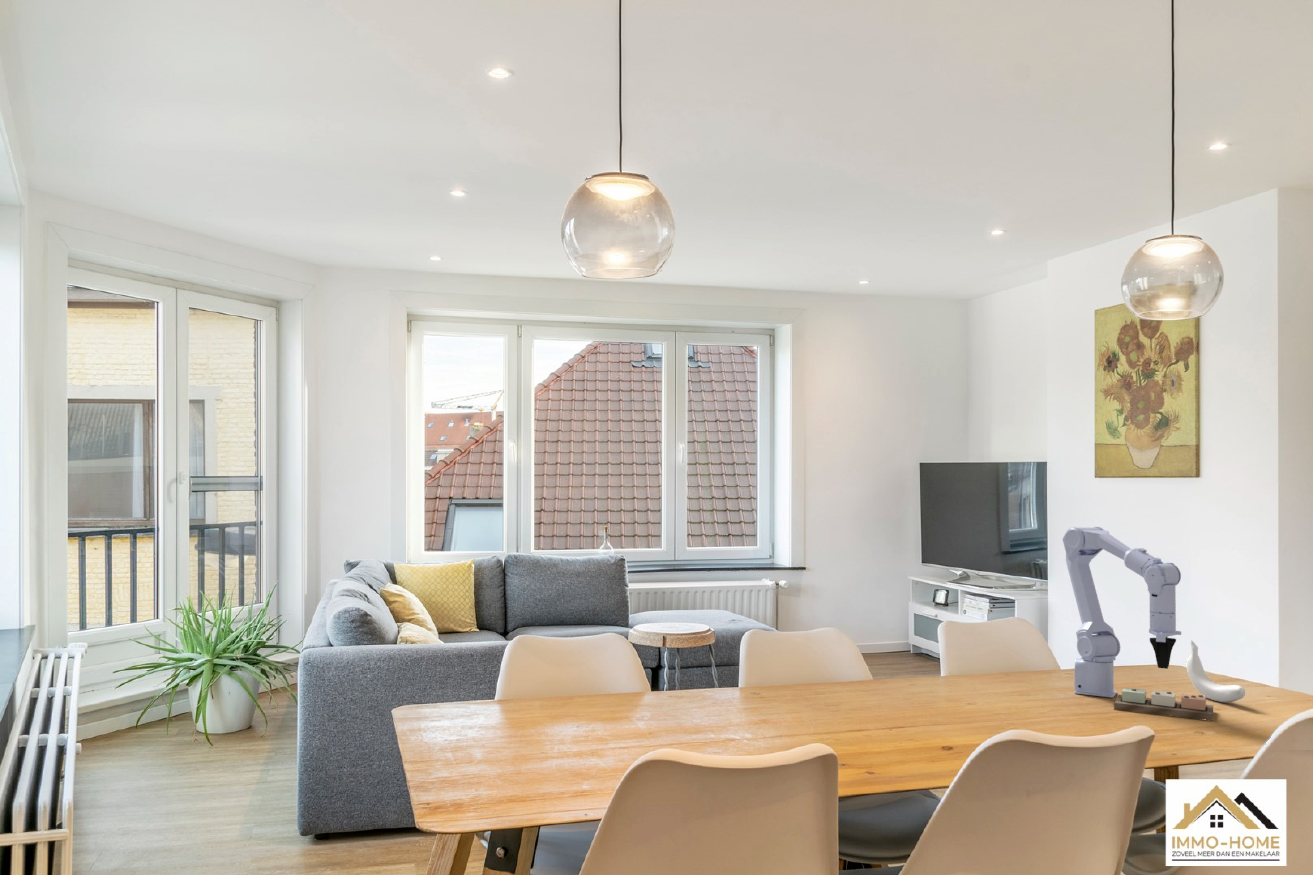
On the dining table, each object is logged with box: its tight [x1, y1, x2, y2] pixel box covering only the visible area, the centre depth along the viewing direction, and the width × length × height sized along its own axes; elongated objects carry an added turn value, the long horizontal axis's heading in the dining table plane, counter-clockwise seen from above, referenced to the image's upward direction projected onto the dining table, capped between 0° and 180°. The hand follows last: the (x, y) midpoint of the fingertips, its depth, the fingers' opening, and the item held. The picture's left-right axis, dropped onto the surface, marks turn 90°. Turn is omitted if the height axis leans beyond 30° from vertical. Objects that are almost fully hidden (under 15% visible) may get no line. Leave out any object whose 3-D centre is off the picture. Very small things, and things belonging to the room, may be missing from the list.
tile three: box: [1180, 693, 1207, 710], centre depth 237 cm, size 5×5×3 cm
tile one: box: [1121, 687, 1147, 703], centre depth 243 cm, size 5×5×3 cm
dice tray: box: [1113, 694, 1214, 722], centre depth 240 cm, size 21×11×2 cm, turn 59°
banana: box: [1185, 640, 1246, 703], centre depth 252 cm, size 5×19×15 cm, turn 15°
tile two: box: [1150, 690, 1177, 707], centre depth 240 cm, size 5×5×3 cm
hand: (1163, 667), depth 240 cm, fingers closed
